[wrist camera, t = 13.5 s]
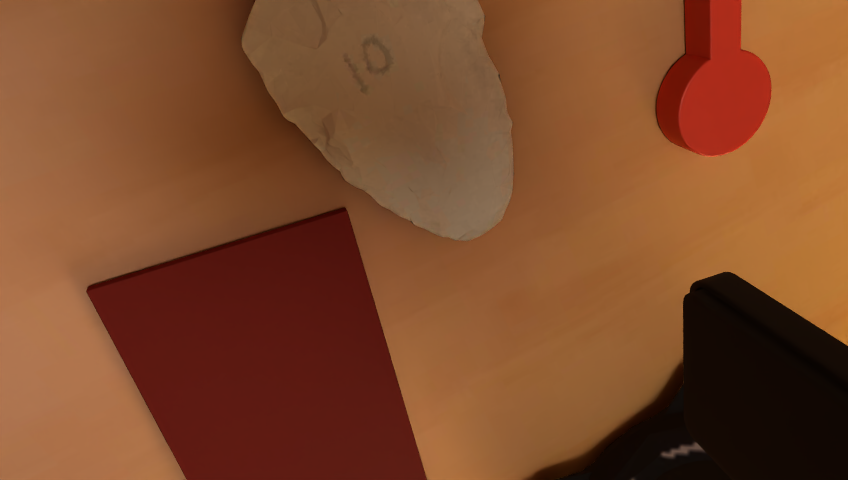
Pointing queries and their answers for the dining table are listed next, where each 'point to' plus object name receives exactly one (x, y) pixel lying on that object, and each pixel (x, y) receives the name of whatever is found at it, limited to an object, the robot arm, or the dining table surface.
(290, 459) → the maroon mat
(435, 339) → the dining table surface
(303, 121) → the stone
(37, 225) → the dining table surface
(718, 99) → the red spoon
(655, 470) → the speaker
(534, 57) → the dining table surface
